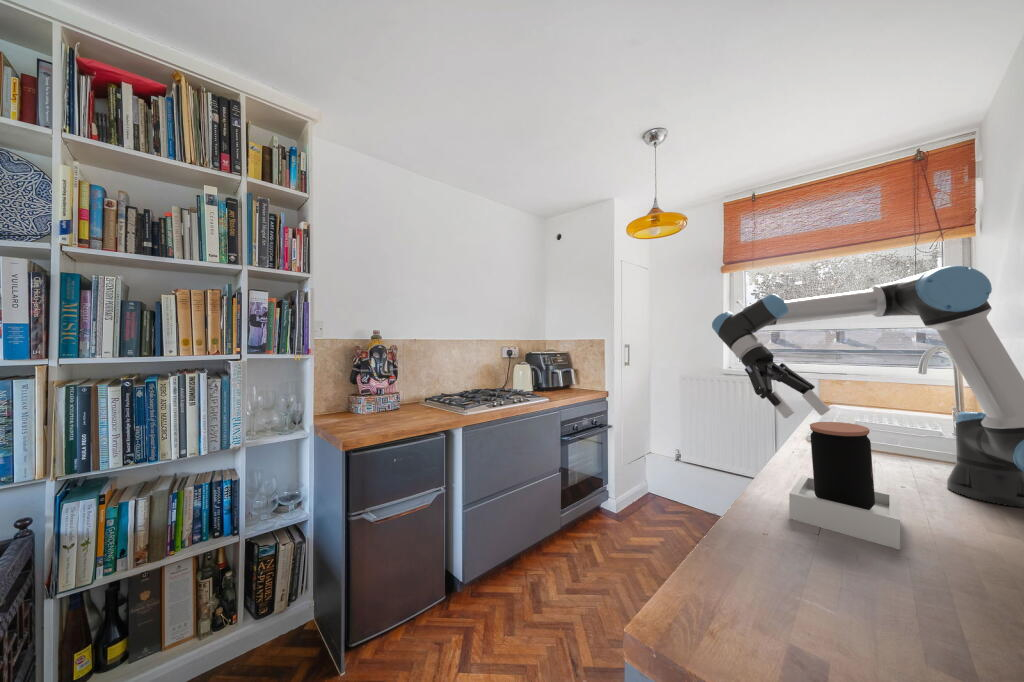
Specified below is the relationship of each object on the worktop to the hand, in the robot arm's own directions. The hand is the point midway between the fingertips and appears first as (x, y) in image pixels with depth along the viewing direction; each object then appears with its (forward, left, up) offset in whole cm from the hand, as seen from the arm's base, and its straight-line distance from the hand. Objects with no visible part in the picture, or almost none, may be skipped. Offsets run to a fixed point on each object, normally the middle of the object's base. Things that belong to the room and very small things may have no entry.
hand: (808, 413), depth 94 cm
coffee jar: (-7, +3, -20) cm, 21 cm away
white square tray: (-7, +3, -24) cm, 25 cm away
